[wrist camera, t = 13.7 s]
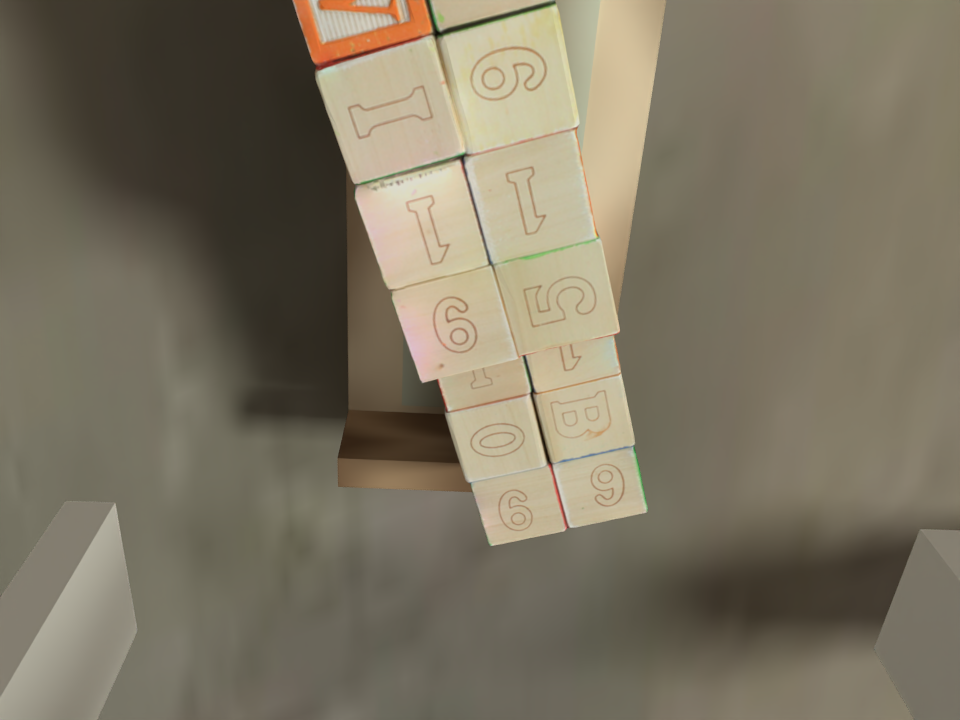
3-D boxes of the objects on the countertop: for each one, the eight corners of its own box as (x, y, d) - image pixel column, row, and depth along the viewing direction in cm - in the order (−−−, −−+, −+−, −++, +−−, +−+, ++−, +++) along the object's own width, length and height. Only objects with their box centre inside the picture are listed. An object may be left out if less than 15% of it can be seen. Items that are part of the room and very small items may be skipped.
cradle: (352, 420, 41) (338, 486, 36) (348, -210, 29) (325, -237, 24) (592, 430, 42) (609, 497, 37) (684, -183, 30) (729, -204, 25)
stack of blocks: (609, 391, 39) (668, 573, 28) (479, 419, 39) (486, 610, 28) (507, -124, 29) (535, -151, 18) (335, -76, 30) (263, -74, 19)
